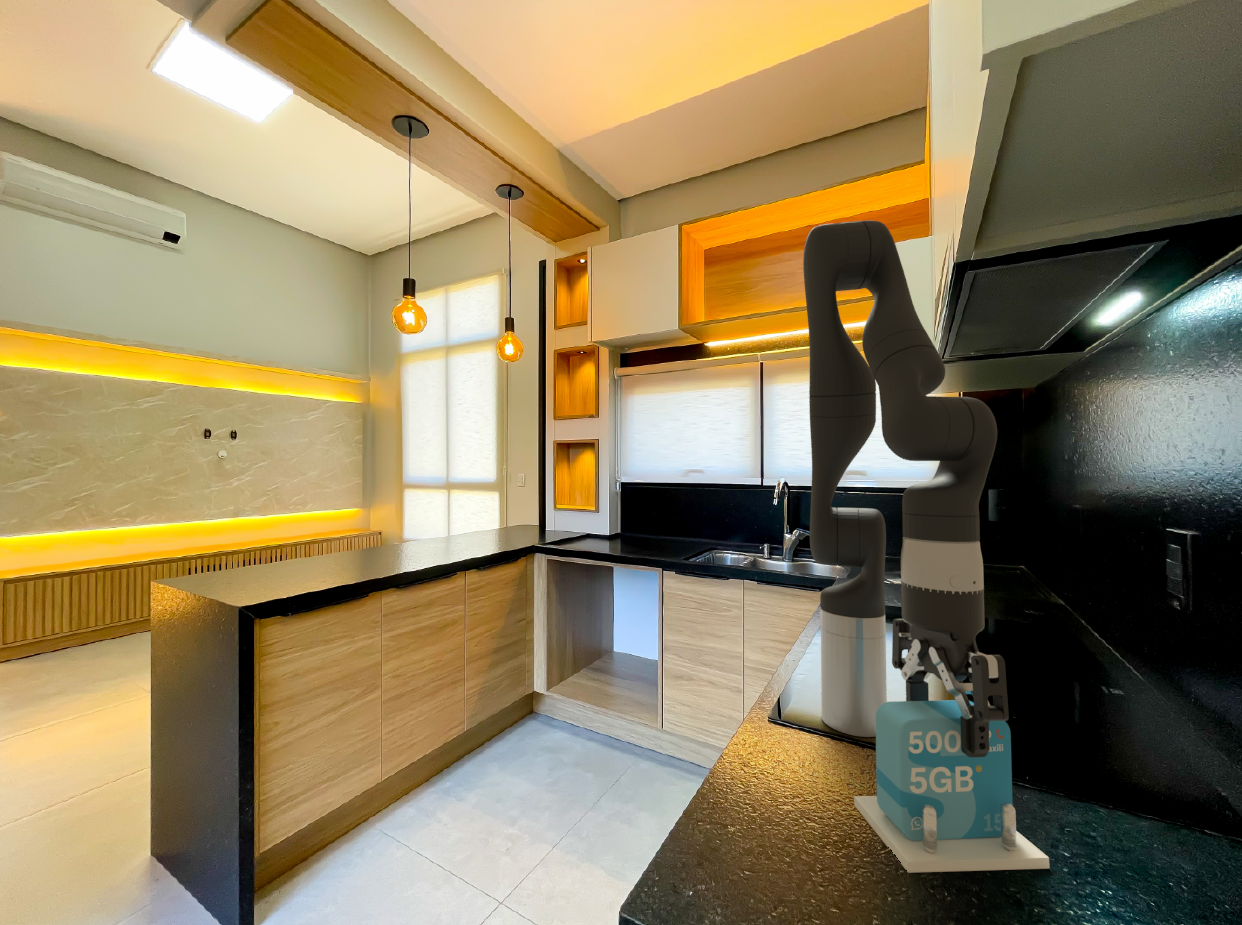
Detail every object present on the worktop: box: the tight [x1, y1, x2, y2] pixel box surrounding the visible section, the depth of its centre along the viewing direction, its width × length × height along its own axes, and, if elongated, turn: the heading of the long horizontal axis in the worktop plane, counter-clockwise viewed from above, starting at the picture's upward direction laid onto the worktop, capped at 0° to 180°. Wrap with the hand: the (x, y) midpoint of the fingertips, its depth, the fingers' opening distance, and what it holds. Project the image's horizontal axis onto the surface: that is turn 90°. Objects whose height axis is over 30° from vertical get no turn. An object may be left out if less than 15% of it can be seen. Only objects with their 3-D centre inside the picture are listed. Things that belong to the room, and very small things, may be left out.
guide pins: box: [922, 802, 1017, 853], centre depth 53 cm, size 9×9×4 cm
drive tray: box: [853, 795, 1050, 874], centre depth 53 cm, size 10×14×1 cm
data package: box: [875, 699, 1014, 841], centre depth 53 cm, size 12×4×12 cm, turn 94°
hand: (943, 733), depth 53 cm, fingers open, 8 cm apart
